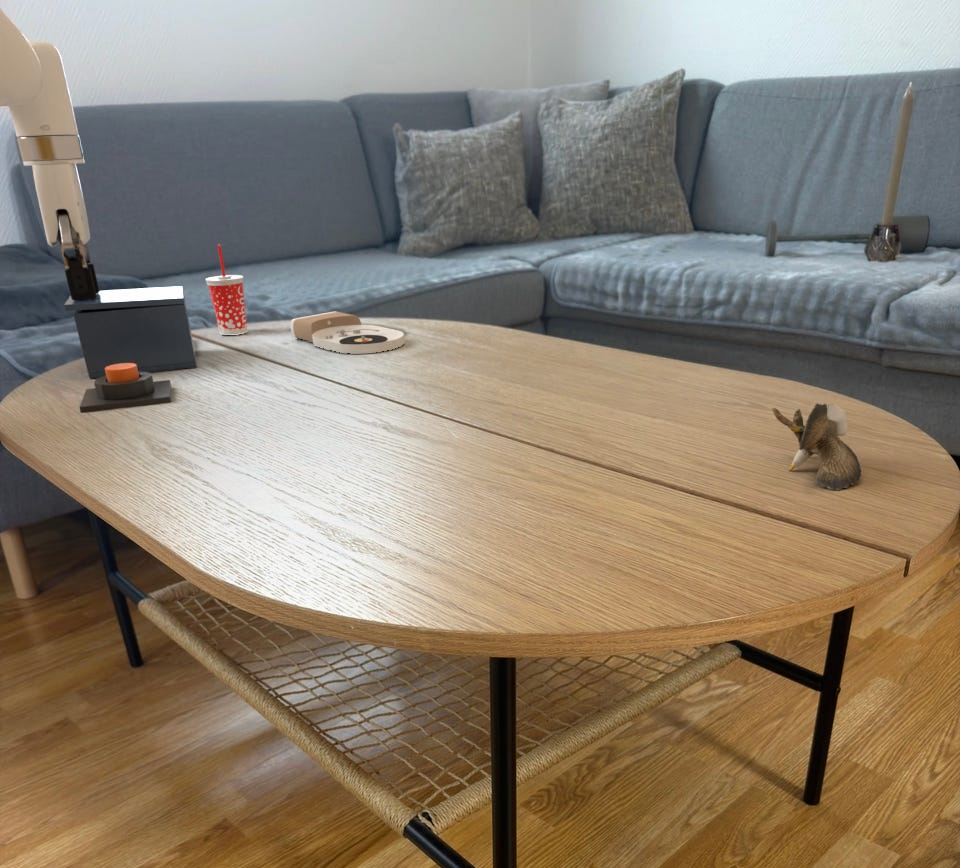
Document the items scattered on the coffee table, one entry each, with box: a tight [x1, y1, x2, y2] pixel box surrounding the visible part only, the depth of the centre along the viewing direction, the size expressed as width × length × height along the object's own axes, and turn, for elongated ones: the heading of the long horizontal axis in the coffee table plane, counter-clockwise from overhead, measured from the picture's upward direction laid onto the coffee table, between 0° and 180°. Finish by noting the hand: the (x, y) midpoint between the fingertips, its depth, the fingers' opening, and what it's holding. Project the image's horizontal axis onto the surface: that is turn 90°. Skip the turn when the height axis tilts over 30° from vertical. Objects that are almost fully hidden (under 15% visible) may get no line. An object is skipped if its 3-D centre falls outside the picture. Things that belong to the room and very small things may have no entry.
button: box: [105, 363, 139, 382], centre depth 104 cm, size 4×4×2 cm
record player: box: [290, 310, 405, 355], centre depth 136 cm, size 12×3×20 cm
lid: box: [63, 285, 185, 312], centre depth 124 cm, size 16×13×5 cm
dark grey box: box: [72, 291, 198, 380], centre depth 127 cm, size 15×13×9 cm
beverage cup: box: [205, 244, 248, 335], centre depth 144 cm, size 6×6×14 cm
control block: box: [79, 371, 172, 414], centre depth 105 cm, size 10×9×4 cm
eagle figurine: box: [771, 402, 862, 491], centre depth 76 cm, size 8×7×9 cm
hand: (86, 295), depth 123 cm, fingers closed on lid, 5 cm apart
